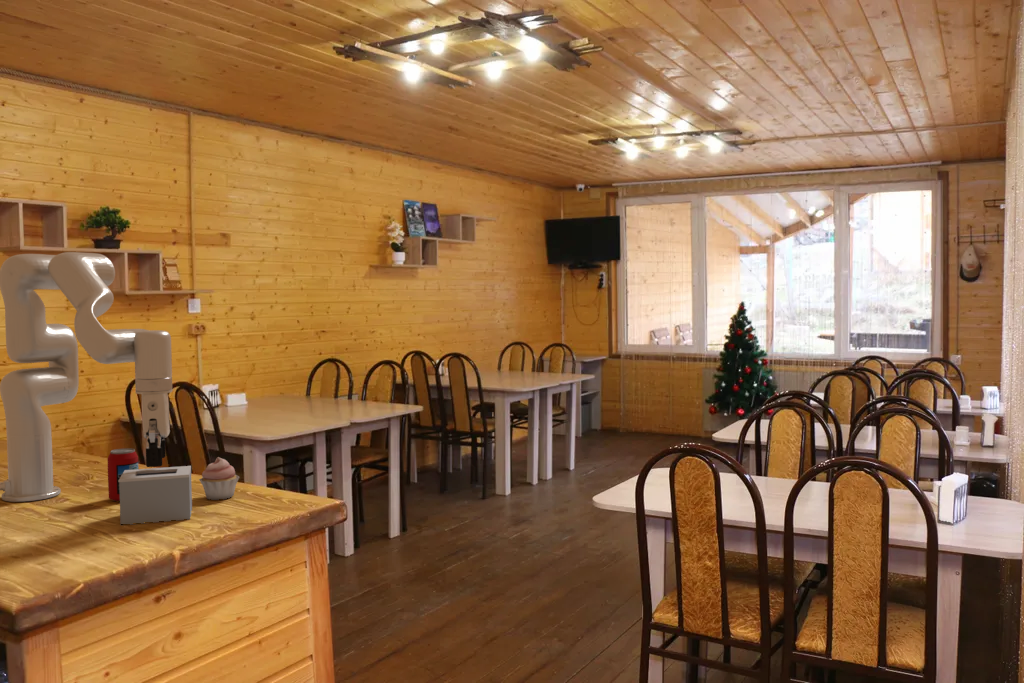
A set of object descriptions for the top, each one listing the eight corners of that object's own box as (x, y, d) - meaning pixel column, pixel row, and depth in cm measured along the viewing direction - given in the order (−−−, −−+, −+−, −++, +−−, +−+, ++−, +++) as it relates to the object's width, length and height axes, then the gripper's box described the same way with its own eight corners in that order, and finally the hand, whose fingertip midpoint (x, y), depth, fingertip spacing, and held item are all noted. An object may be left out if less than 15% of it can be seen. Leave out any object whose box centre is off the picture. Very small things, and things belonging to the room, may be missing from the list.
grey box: (120, 525, 176) (119, 479, 175) (125, 513, 185) (124, 470, 185) (190, 519, 180) (189, 474, 180) (192, 508, 190) (190, 465, 189)
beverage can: (127, 503, 195) (125, 453, 194) (102, 501, 196) (100, 452, 195) (145, 496, 201) (143, 448, 201) (121, 495, 203) (119, 447, 202)
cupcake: (192, 497, 200) (191, 457, 200) (228, 490, 207) (227, 451, 206) (210, 504, 194) (209, 462, 193) (246, 496, 201) (246, 456, 200)
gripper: (169, 389, 174) (171, 468, 175) (174, 381, 191) (176, 454, 192) (131, 390, 172) (133, 471, 173) (139, 382, 188) (141, 456, 189)
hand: (156, 462), depth 182 cm, fingers open, 9 cm apart
